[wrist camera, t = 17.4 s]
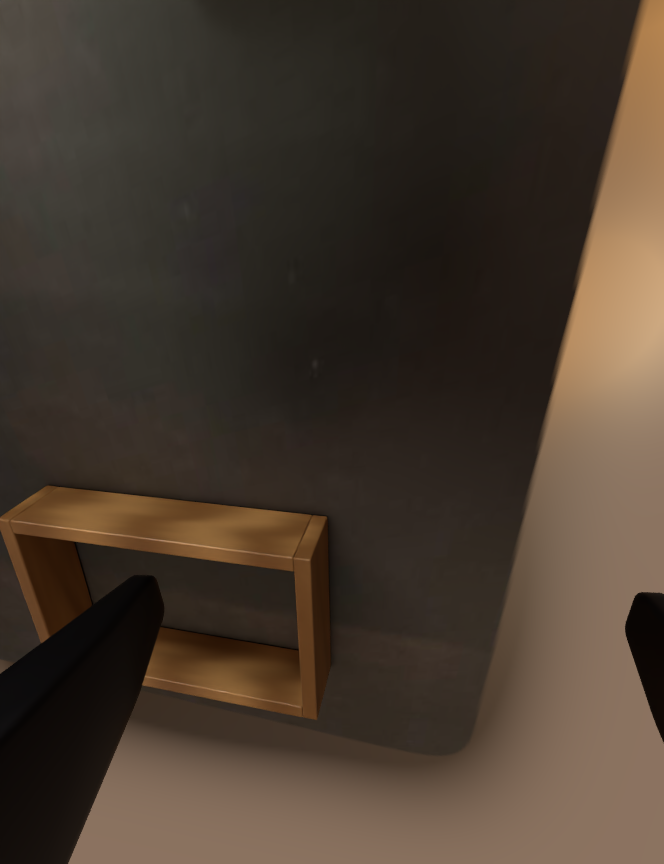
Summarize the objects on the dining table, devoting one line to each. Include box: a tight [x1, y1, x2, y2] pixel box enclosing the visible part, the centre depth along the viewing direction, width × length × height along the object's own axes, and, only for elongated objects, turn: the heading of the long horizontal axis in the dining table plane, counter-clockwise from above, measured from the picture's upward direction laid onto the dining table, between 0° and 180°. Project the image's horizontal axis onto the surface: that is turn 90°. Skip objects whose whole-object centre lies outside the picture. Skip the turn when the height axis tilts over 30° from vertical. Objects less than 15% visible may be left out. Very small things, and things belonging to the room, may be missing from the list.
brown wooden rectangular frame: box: [0, 486, 331, 720], centre depth 26 cm, size 17×11×4 cm, turn 91°
